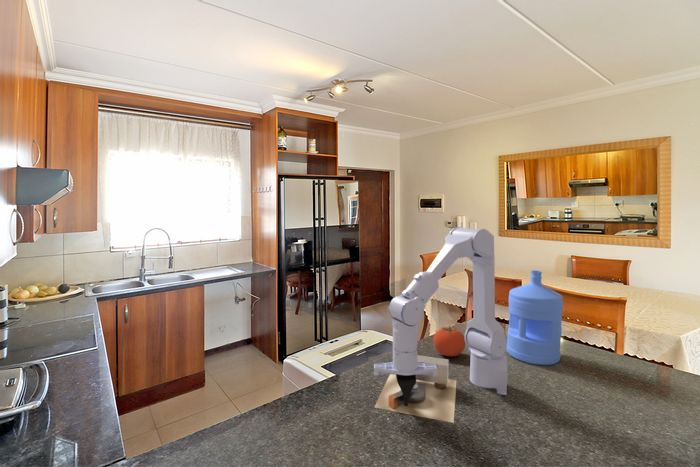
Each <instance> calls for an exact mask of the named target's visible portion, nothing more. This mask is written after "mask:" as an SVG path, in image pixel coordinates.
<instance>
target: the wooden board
mask: <svg viewBox="0 0 700 467" xmlns="http://www.w3.org/2000/svg"><path fill="white" fill-rule="evenodd" d="M416 382H418V383H421V384H423V385H424V386H425V388H426V393H425V400H424V401H423V402H421V403H409V402H408V406H404V404H402V405H400V406H398V407H397V408H395V409H393V408H391V407H390V406H389V395H391V394H394V393H396V392H399V391H401V388H400V386H399V384H398V382H397V378H396V374H388V377H387V380H386V382H385V383H384V386H383V388H382V390H381V392H380V394H379V396H378V399H377V400H376V403H375V405H374V408H376V409H379V410H386V411H389V412H395V413H401V414H406V415H412V416H416V417H422V418H426V419H432V420H437V421H441V422H446V423H452V424H454V422H455V409H456V406H455V405H456V396H457V395H456V393H457V379H451V378H448V383H447V385H445V384H439V383H433V382H427V381H421V380H416Z"/></svg>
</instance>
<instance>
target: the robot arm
mask: <svg viewBox="0 0 700 467" xmlns="http://www.w3.org/2000/svg"><path fill="white" fill-rule="evenodd" d="M444 241H445V242H444V245H443V247H442V248H441V250H440V251H439V252H438V254H437V255H436V257H435V258H434V260H433V261H432V263H431V264H430V265H429V266H428V268H427V270H426V271H419V272H418V273H416V274H415V275H414V276H413V279H412V281H411V282H410V283H409V284H408V286H407V287H406V288H405V289H404V290H402V292H401V294H400V295H398V296H395V297H393V298H392V299H391V301H390V303H389V305H388V307H387V308H386V310H387V314H388V316H389V317H390V318H391V324H392V361H389V362H384V363H383V362H382V363H375V364H373V375H374V376H379V375H390V374H396V378H397V382H398V384H399V386H400V388H401V391H402V394H403V402H404V406H408V399H409V396H410V393H411V391H412V389H413V387H414V385H415V384H416V375H432V376H437V367H436V365H431V364H424V363H418V362H417V355H418V352H417V344H418V333H419V332H418V331H419V330H418V323H419V322H421V320H423V317H424V312H425V309H426V306H427V305H426V304H427V303H428V302H429V301H430V299H431V298H432V296H433V295H434V294H435V293H436V292H437V290H438V289H439V286H440V285H439V280H440V279H441V277H442V276H444V274H445V273H447V271H448V270H449V269H450V267H451V266H452V265H453V264H455V262H456V261H457V260H458V259H462V258H468V259H469V260H470V261H471V262H472V308H473V309H472V310H473V314H472V315H473V318H471V319H469V320H468V321H466V329H465V330H466V331H465V333H464V339H465V343H466V346H468V351H470V354H469V355H470V362H469V363H470V366H469V381H470V382H471V383H472V384H473V385H475V386H476V387H479V388H484V389H496V394H497V395H501V396H507V395H508V393H507V392H508V391H507V390H508V389H507V388H508V381H509V380H508V358H507V356H506V355H504V354H505V353H506V352H507V338H506V335H505V329H504V327H503V326H502V325H501V324H500V323H499V322H498V320H497V319H496V307H495V306H496V301H495V300H496V297H495V293H496V292H495V291H496V290H495V289H496V287H495V284H496V281H495V279H496V278H495V274H496V272H495V270H496V269H495V266H496V263H495V260H496V259H495V236H494V234H492V233H491V232H490V231H489V230H488V229H485V228H468V227H467V228H466V227H459V226H456V227H453V228H452V229H451V230H450V231H449V232H448V234H447V235H446V236H445V240H444Z"/></svg>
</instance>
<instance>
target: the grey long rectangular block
mask: <svg viewBox="0 0 700 467" xmlns="http://www.w3.org/2000/svg"><path fill="white" fill-rule="evenodd" d="M417 362H418V363H424V364H431V365H436V367H437V376H432V375H416V380H421V381H427V382H433V383H439V384H445V385H447V383H448V379H449V364H450V363H449V359H448V358H447V359H446V358H442V357H441V358H439V357H433V356H427V355H419V354H417Z"/></svg>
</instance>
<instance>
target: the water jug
mask: <svg viewBox="0 0 700 467" xmlns="http://www.w3.org/2000/svg"><path fill="white" fill-rule="evenodd" d="M542 273H543V272H542V271H541V270H531V271H530V282H529V283H527V284H524V285H519V286H517V287H514V288H511V289H510V290H509V294H508V312H509V317H508V329H507V338H506V341H507V348H506V352H507V353H508V354H509V356H511V357H513V358H514V359H516V360H517V361H521V362H523V363H527V364H532V365H537V366H550V365H554V364H557V363H559V361H560V359H561V341H562V340H561V339H562V330H563V329H562V321H563V320H562V319H563V309H564V302H563V301H564V300H563V299H564V298H563V296H562V294H560V293H558V292H557V291H555V290H553V289H551V288H549V287H547V286H546V285H543V284H542V278H543V277H542Z"/></svg>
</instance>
